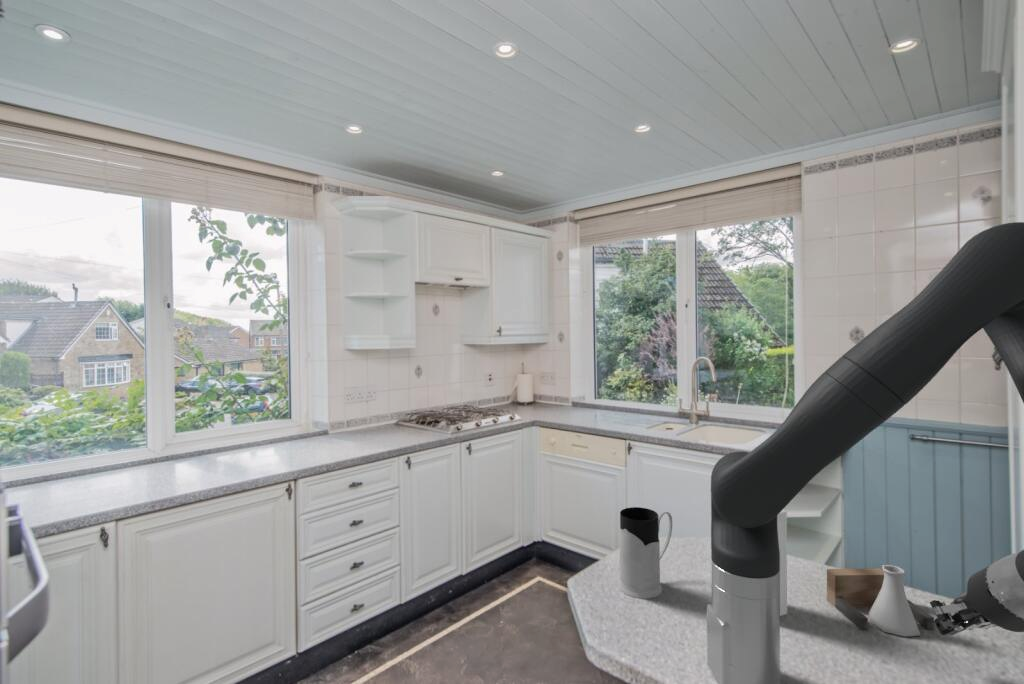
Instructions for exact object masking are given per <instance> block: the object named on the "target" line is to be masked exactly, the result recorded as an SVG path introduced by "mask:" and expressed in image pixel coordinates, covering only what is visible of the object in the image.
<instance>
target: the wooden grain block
mask: <svg viewBox="0 0 1024 684" xmlns="http://www.w3.org/2000/svg"><path fill="white" fill-rule="evenodd" d="M883 580H884V571H883V568H882V567H881V568H876V567H875V568H827V569H826V601H827V602H829V604H831V606H833V607H834V608H835V609H836V610H838V611H839V612H840V613H841V614H842V615H843V616H844V617H846V619H848V620H849V621H850V622H851V623H852V624H853V625H854V626H856V627H857V628H858V629H859V630H860V631H868V630H869V622H868V621H869V617H867V616H866V615H865V614H863V613H862V612H861V611H859V610H858V609H857V608H872V606H873V604H874V602H875V600H876V598H877V596H878V594H879V592H880V590H881V588H882V585H883ZM907 601H908V603H909V606H910V609H911V611H912V614H913V616H914V618H915V621H916V624H919V625H920V626H921V627H923V628H924V629H926V630H935V623H934V620H935V617H933V616H932V615H930V614H929V612H926V611H925V610H924V609H922V608H921V607H920V606H918V605H916V604H915V603H914V602H912V601H910V600H909V599H908V598H907Z"/></svg>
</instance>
